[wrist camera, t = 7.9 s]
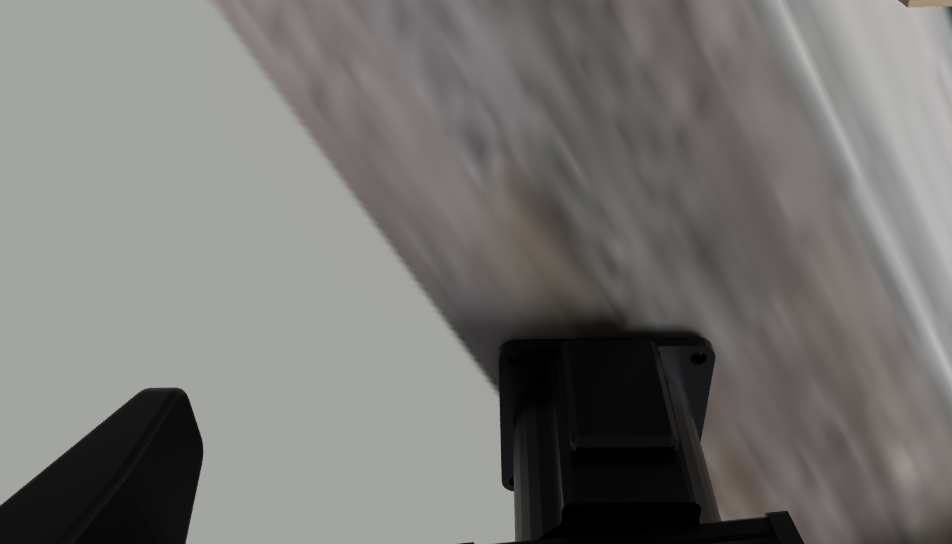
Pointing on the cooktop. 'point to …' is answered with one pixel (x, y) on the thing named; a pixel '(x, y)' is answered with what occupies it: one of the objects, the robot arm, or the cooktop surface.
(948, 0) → the soap dish
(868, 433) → the cooktop surface
